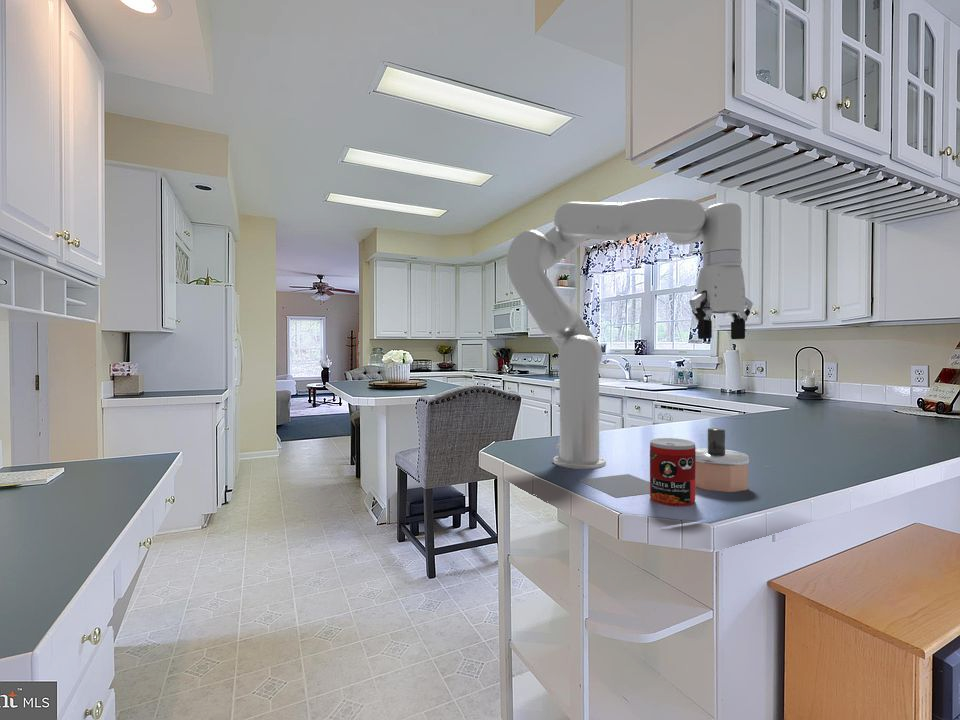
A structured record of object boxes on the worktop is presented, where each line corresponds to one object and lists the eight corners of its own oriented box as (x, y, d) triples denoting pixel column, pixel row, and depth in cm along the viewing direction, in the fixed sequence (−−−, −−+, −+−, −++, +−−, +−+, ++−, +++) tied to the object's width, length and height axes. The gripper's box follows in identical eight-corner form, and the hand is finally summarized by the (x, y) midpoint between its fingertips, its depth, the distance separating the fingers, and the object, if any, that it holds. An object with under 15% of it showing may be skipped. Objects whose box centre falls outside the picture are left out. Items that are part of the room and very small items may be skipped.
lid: (673, 455, 98) (673, 427, 98) (714, 451, 102) (714, 423, 102) (718, 467, 88) (718, 436, 87) (762, 462, 92) (762, 432, 92)
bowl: (675, 481, 98) (675, 455, 98) (714, 476, 102) (714, 451, 102) (717, 495, 88) (718, 466, 88) (759, 489, 92) (759, 462, 92)
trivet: (577, 481, 98) (577, 479, 98) (628, 475, 103) (628, 474, 103) (616, 499, 86) (615, 497, 86) (671, 492, 91) (671, 490, 91)
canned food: (645, 503, 84) (645, 443, 84) (655, 492, 90) (655, 436, 90) (691, 511, 79) (691, 447, 79) (698, 499, 86) (698, 440, 86)
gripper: (736, 267, 109) (736, 339, 110) (678, 262, 103) (678, 339, 104) (765, 261, 102) (765, 338, 103) (705, 255, 96) (705, 338, 97)
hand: (721, 338), depth 103 cm, fingers open, 9 cm apart
